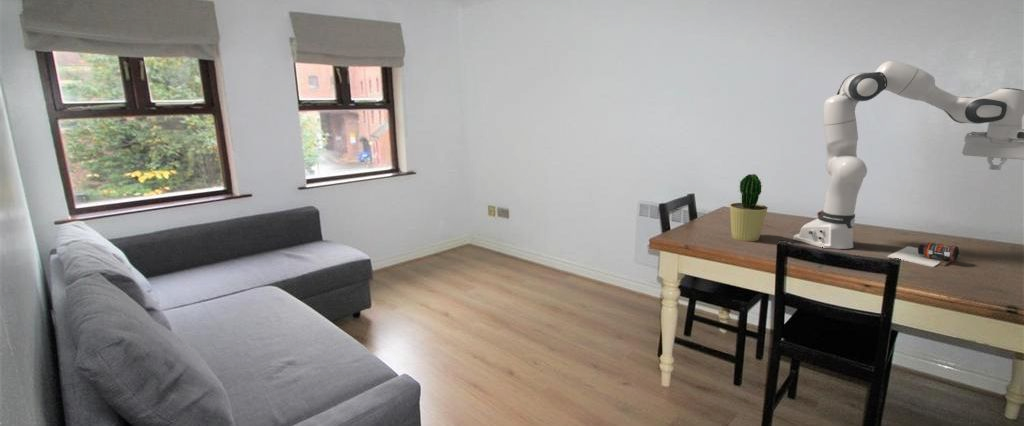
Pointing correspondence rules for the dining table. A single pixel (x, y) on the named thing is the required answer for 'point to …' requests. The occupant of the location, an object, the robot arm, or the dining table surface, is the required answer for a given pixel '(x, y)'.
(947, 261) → the strip
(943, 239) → the dining table surface
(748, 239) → the potted cactus
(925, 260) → the mat
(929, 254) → the supplement bottle
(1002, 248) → the dining table surface
